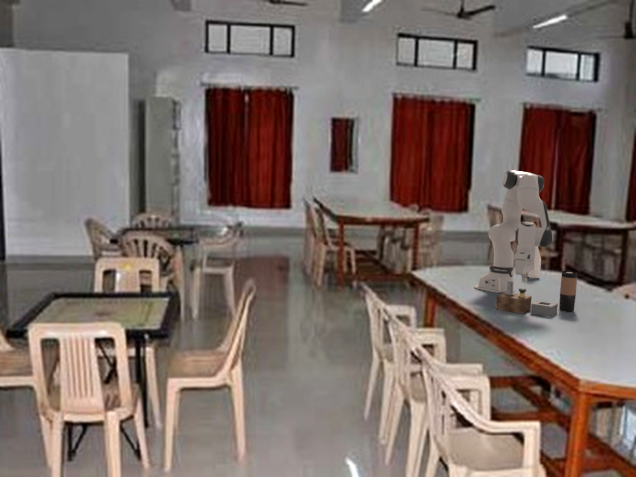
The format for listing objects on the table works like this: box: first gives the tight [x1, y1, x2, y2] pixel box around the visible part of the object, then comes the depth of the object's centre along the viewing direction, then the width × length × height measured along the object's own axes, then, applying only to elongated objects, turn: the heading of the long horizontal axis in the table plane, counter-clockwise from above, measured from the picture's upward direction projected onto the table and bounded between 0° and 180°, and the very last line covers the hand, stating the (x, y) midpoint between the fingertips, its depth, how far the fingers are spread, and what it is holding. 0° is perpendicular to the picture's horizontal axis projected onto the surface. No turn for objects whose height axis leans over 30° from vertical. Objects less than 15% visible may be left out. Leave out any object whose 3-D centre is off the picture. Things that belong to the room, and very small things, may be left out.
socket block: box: [495, 292, 532, 314], centre depth 361 cm, size 14×12×7 cm
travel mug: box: [558, 270, 578, 313], centre depth 362 cm, size 8×8×20 cm
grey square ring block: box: [530, 300, 559, 318], centre depth 355 cm, size 10×10×5 cm
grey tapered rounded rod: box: [506, 280, 514, 296], centre depth 362 cm, size 3×3×14 cm
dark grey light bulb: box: [518, 288, 527, 298], centre depth 359 cm, size 4×4×8 cm
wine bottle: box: [528, 246, 542, 279], centre depth 452 cm, size 10×10×30 cm
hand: (524, 281), depth 357 cm, fingers closed
